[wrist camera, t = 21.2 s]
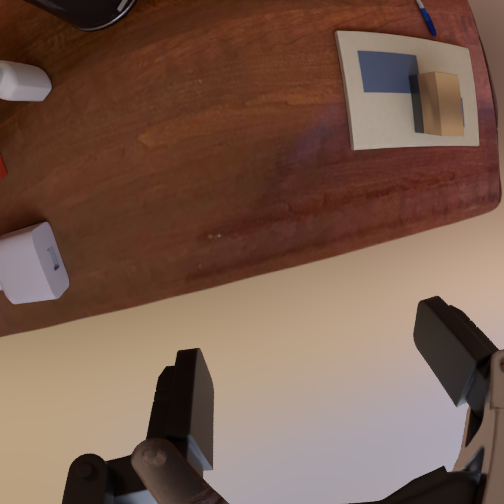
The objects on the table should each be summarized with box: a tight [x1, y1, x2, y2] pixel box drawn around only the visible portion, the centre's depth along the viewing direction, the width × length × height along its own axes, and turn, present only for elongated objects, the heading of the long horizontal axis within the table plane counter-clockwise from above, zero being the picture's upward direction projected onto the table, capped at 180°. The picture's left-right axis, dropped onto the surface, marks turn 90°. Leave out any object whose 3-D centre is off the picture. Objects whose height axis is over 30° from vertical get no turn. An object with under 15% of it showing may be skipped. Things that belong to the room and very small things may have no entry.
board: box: [334, 31, 479, 150], centre depth 29 cm, size 14×20×1 cm
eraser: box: [409, 71, 464, 136], centre depth 27 cm, size 7×4×6 cm, turn 9°
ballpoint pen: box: [416, 0, 436, 36], centre depth 24 cm, size 10×1×1 cm, turn 25°
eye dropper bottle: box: [0, 60, 52, 101], centre depth 20 cm, size 4×6×12 cm
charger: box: [0, 222, 69, 304], centre depth 32 cm, size 5×9×15 cm
